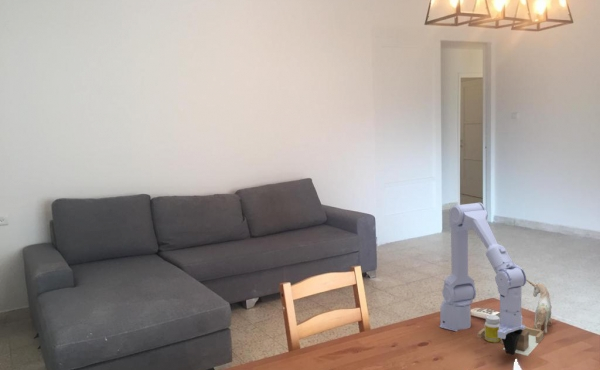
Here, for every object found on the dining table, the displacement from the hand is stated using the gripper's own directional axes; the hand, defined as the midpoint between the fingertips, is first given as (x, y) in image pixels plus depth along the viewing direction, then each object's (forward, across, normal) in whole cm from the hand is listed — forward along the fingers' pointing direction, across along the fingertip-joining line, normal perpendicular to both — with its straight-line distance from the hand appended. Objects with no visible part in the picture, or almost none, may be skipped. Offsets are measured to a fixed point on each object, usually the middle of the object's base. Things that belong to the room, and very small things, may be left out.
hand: (510, 353), depth 145 cm
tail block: (+1, +8, 0) cm, 8 cm away
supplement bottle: (+2, +8, +8) cm, 12 cm away
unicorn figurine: (+2, +28, +2) cm, 28 cm away
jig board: (+2, +12, +6) cm, 13 cm away
